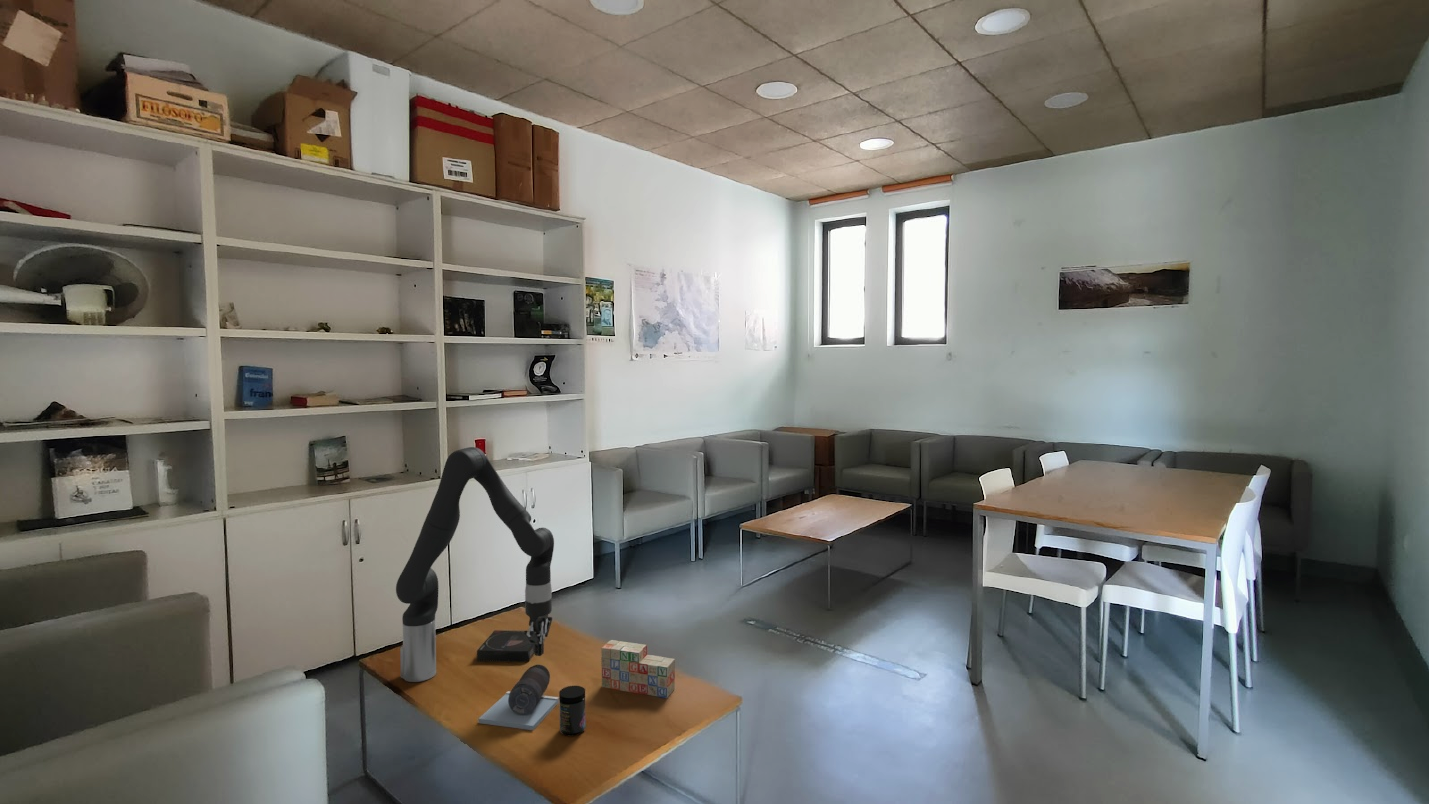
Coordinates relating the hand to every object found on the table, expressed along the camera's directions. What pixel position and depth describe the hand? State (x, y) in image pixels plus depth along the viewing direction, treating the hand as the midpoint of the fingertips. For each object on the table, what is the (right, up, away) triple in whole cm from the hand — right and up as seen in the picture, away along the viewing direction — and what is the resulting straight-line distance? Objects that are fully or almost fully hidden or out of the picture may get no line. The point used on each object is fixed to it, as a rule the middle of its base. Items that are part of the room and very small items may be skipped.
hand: (539, 654), depth 198 cm
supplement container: (+14, -12, -21) cm, 28 cm away
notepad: (-2, -11, -13) cm, 17 cm away
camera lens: (+1, -5, -2) cm, 6 cm away
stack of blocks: (+29, -11, +2) cm, 31 cm away
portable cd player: (-16, -10, +28) cm, 34 cm away
